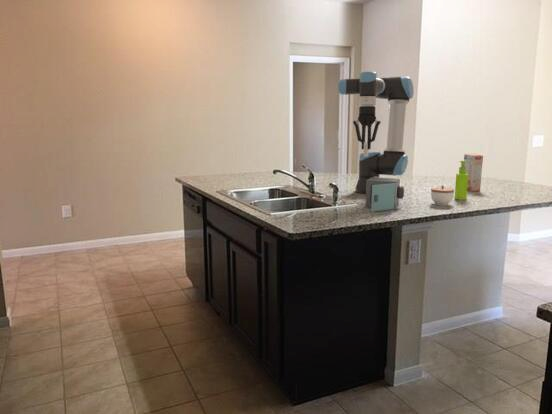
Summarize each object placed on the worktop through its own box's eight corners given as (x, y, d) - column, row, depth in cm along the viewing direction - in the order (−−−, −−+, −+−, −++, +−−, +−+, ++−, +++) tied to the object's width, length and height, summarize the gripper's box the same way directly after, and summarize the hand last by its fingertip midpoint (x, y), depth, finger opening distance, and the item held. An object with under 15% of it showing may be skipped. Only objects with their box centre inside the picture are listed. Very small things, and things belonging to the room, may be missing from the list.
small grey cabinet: (370, 202, 238) (371, 175, 236) (404, 205, 232) (405, 177, 229) (365, 207, 227) (366, 178, 225) (400, 209, 221) (402, 180, 218)
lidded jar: (429, 205, 231) (430, 186, 229) (430, 201, 241) (432, 183, 239) (452, 207, 227) (454, 187, 225) (453, 203, 237) (454, 184, 235)
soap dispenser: (469, 199, 246) (472, 161, 242) (455, 199, 248) (458, 161, 244) (467, 197, 252) (470, 160, 248) (453, 197, 253) (456, 160, 249)
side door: (371, 211, 216) (372, 185, 213) (394, 208, 222) (395, 183, 220) (373, 211, 214) (374, 185, 212) (397, 208, 221) (398, 183, 218)
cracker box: (480, 191, 273) (483, 155, 269) (470, 191, 274) (473, 155, 270) (471, 187, 287) (473, 153, 283) (461, 187, 287) (463, 153, 283)
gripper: (351, 106, 219) (350, 156, 224) (380, 105, 214) (378, 157, 219) (355, 106, 226) (353, 155, 231) (383, 105, 221) (381, 156, 226)
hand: (365, 156), depth 225 cm, fingers closed
